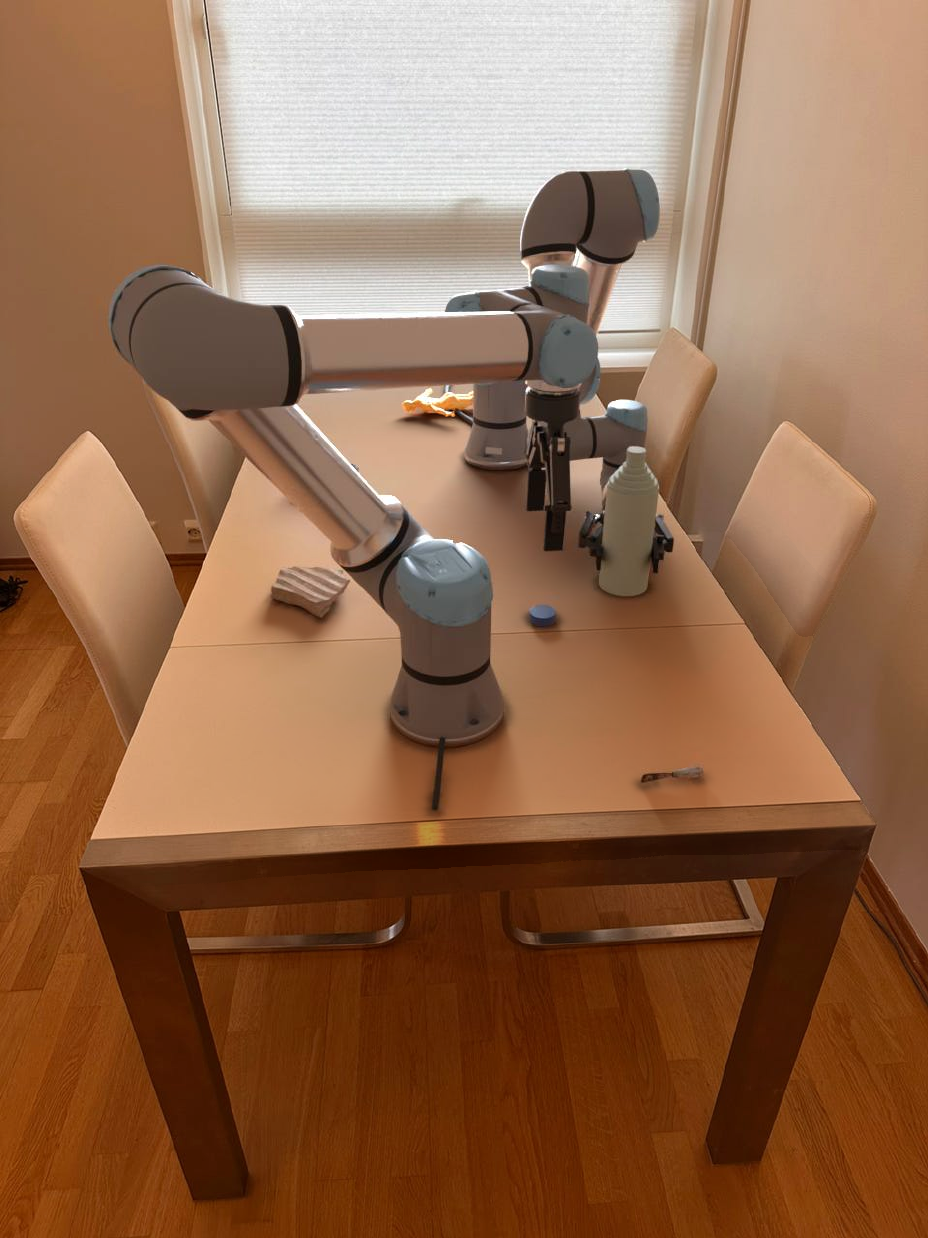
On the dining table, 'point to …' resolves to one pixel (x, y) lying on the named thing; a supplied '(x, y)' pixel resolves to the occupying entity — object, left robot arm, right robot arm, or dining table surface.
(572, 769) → the dining table surface
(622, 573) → the bottle
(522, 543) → the dining table surface
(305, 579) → the stone
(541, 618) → the cap
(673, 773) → the putty knife
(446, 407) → the human figure
